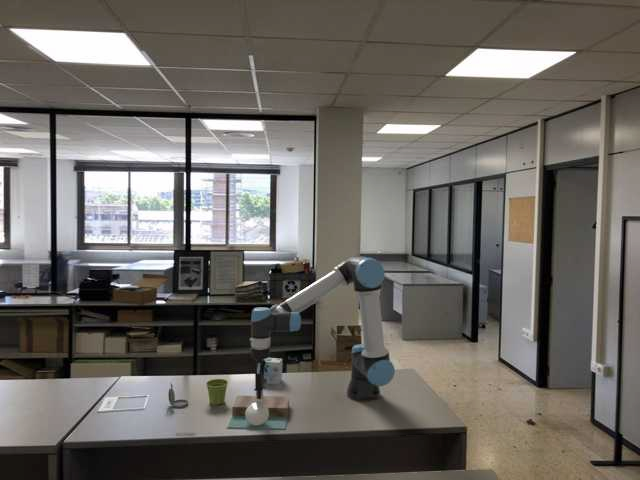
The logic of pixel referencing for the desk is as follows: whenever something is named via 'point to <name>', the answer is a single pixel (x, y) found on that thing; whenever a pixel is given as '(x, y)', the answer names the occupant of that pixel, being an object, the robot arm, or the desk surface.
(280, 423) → the mat
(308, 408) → the desk surface
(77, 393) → the desk surface
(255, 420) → the white domed disc
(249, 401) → the board
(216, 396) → the plant pot
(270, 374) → the light bulb box
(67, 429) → the desk surface
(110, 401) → the photo frame
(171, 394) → the pocket watch
